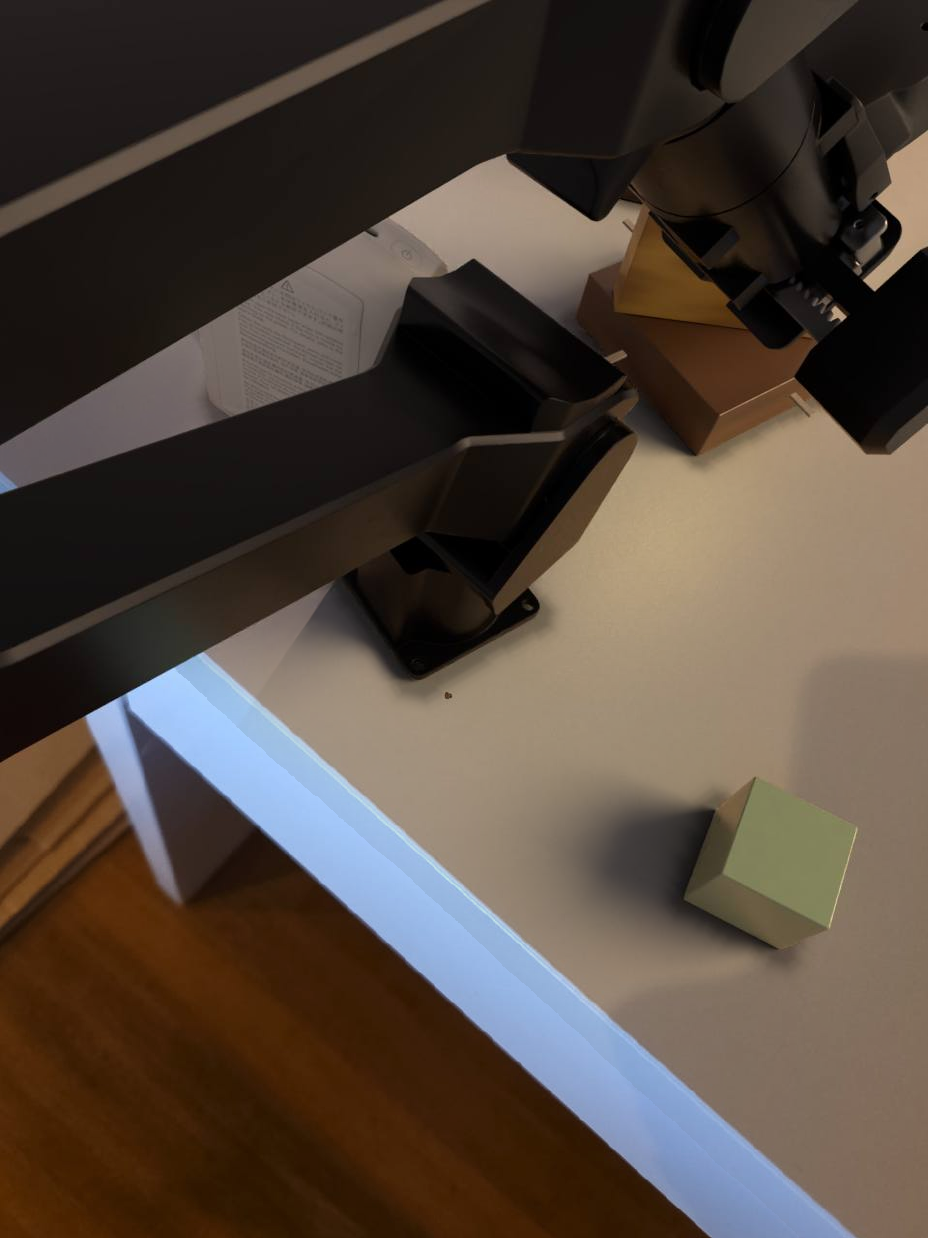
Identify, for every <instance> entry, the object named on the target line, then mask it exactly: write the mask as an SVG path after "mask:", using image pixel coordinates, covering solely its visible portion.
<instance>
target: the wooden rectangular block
mask: <svg viewBox="0 0 928 1238" xmlns="http://www.w3.org/2000/svg"><path fill="white" fill-rule="evenodd" d="M649 212H650V209H649V208H648V207H647V206H646V205H645V204H644V203H641V208H640V210H639V213H638V216H637V219H636V222H635V223H634V225H635V227H634V230H633V233H632V232H631V236H630V239H629V241H628V244H627V248H626V250H625V254H624V256H623V259H622V260H623V262H622V265H621V268H620V270H619V273H618V276H617V279H616V282H615V285H614V288H613V292H614V311H615V312H620V313H628V314H635V315H642V316H650V317H657V318H665V319H672V320H680V321H687V322H695V323H702V324H710V325H717V326H725V327H732V328H739V329H747V327H746V326H745V325H744V324H743V323H742V322H741V321H740V320H739V319H738V318H737V317H736V316H735V315H734V314H733V313H732V312H731V311H730V310H729V309H728V308H727V307H726V304H727V303H728V302H729V301H730V300H729V299H728V297H727V296H726V295H725V294H724V293H723V292H722V291H721V290H720V289H719V288H718V287H717V286H716V285H715V284H714V283H711V282H707V281H702V280H700V279H699V278H698V277H697V276H696V275H695V273H694V272H693V271H692V270H691V269H690V268H689V267H688V266H687V265H686V264H685V263H684V262H683V261H682V260H681V259H680V258H679V257H678V256H677V255H676V254H675V253H674V252H673V251H672V250H671V249H670V248H669V247H668V245H667V244H666V243H665V242H664V241H663V239H662V229H661V228H660V227H659V226H658V225H657V224H656V223H655V222H654V221H653V219H652V218H651V217H650V216H649V214H648V213H649ZM831 311H832V312H833V309H831ZM747 330H748V329H747ZM802 337H807V338H812V337H811V336H810V335H809V334H808V333H805V334H804V335H803V336H802Z"/></svg>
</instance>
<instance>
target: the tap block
mask: <svg viewBox="0 0 928 1238" xmlns="http://www.w3.org/2000/svg"><path fill="white" fill-rule="evenodd" d="M622 224H623V225H624V227H626V228H627V229H628V231H629V232H630V233H631V234H632V233H633V230H634V227H635V223H633V221H632V220H630V218H626V219H624V220H623V221H622ZM622 262H623V259H622V260H620V261H617V262H615V263H612V264H610V265H607V266H605V267H602V268H600V269H598V270H597V269H596V270H595V271H592V272H590V273H589V274H588V276H587V279H586V282H585V285H584V288H583V292H582V294H581V298H580V302H579V304H578V307H577V311H576V314H575V320H576V322H577V323H578V324H579V325H580V326H581V328H583V330H584V331H585V332H586V334H588V335H589V336H590V337H591V338H592V339H593V340H594V342H595V343H596V344H597V345H598V346H599V347H600V348H601V350H602V351H603V352H604V353H605V354H606V355H607V356H605V357H604V358H605V359H606V360H608V361H609V362H610V363H611V364H615V366H616V367H617V368H618V369H619V370H621V371H622V372H623V373H624V374H626V375H627V378H626V379H627V380H629V381H630V382H631V384H632V385H633V387H635V388H636V389H637V390H638V392H640V394H641V395H642V396H643V397H644V398H645V399H646V401H647V402H648V403H649V404H650V405H651V406H652V407H653V408H654V409H655V411H656V412H657V413H658V414H659V415H660V416H661V417H662V418H663V420H664V421H665V422H666V423H667V424H668V425H669V426H670V427H671V429H672V430H673V431H674V432H675V433H676V434H677V436H679V437H680V439H681V440H682V441H683V442H684V443H685V444H686V445H687V447H688V448H689V449H690V450H691V451H692V453H694V454H695V456H697V457H698V456H700V455H702V454H704V453H706V452H708V451H710V450H712V449H714V448H716V447H717V446H719V445H722V444H723V443H727V442H728V441H730V440H732V439H733V438H736V437H737V436H739V435H741V434H744V433H745V432H747V431H749V430H751V429H752V428H755V427H756V426H758V425H761V424H762V423H765V422H766V421H768V420H770V419H772V418H774V417H776V416H778V415H780V414H782V413H784V412H786V411H788V410H790V409H792V408H794V407H798V408H799V409H800V410H801V411H802V412H803V414H804V415H805V416H806V417H807V418H812V417H813V416H815V415H816V411H814V410H813V408H812V407H810V406H809V405H808V403H807V402H806V401H807V400H809V399H812V397H811V396H810V395H809V394H808V393H807V392H806V391H805V390H804V389H803V388H802V386H801V385H800V384H799V383H798V382H797V380H796V379H795V378H794V375H795V374H796V372H797V371H798V369H799V367H800V366H801V364H802V363H803V361H804V359H805V358H806V356H807V355H808V353H809V351H810V350H811V349H812V348H813V347H814V346H815V345H817V344H818V343H817V342H816V341H815V340H814V339H813V338H807V337H801V338H800V339H799V340H798V341H797V342H796V343H795V344H794V345H792V346H791V347H790V348H788V349H786V350H783V351H774V350H771V349H768V348H767V347H765V346H764V345H763V344H762V343H761V342H760V341H759V340H758V339H757V338H756V337H755V336H754V335H753V334H752V333H751V332H750V331H749V330H747V329H739V328H732V327H725V326H717V325H710V324H702V323H695V322H687V321H680V320H672V319H665V318H657V317H650V316H642V315H635V314H628V313H620V312H615V311H614V292H613V288H614V285H615V282H616V279H617V276H618V273H619V270H620V268H621V265H622Z"/></svg>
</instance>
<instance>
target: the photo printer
mask: <svg viewBox="0 0 928 1238" xmlns="http://www.w3.org/2000/svg"><path fill="white" fill-rule="evenodd" d="M447 273H449V269H448V265H447V263H446V262H444V260H443V259H442V258H441V257H440V256H439V255H438V254H437V253H436V252H435V251H433V249H432V248H430V247H429V246H428V245H427V244H426V243H425V242H423V240H421V239H420V238H418V237H417V236H416V235H414V233H412V232H411V231H409V229H406V228H405V227H404V226H402V225H401V224H400V223H398V222H396V221H395V220H394V219H392V218H390V217H388V218H386V219H385V220H383V221H381V222H379V223H378V224H376V225H374V226H373V227H371V228H369V229H368V230H366V231H364V232H362V233H361V234H359V235H357V236H356V237H354V238H352V239H351V240H349V241H347V242H345V243H344V244H342V245H340V246H339V247H337V248H335V249H334V250H332V251H330V252H329V253H327V254H325V255H323V256H322V257H320V258H318V259H317V260H315V261H313V262H312V263H310V264H308V265H306V266H305V267H303V268H301V269H300V270H298V271H296V272H295V273H293V274H291V275H289V276H288V277H286V278H284V279H283V280H281V281H279V282H278V283H276V284H274V285H272V286H271V287H269V288H267V289H266V290H264V291H262V292H261V293H259V294H257V295H255V296H254V297H252V298H250V299H249V300H247V301H245V302H244V303H242V304H240V305H238V306H237V307H235V308H233V309H232V310H230V311H228V312H227V313H225V314H223V315H222V316H220V317H218V318H216V319H215V320H213V321H211V322H210V323H208V324H206V325H205V326H203V327H201V328H199V329H198V330H199V332H198V333H199V340H200V346H201V353H202V361H203V368H204V375H205V384H206V391H207V395H208V397H209V398H208V399H209V401H210V402H211V403H212V404H213V405H214V406H215V407H216V408H217V409H219V410H220V411H222V412H223V413H224V414H226V415H228V417H231V416H234V415H237V414H240V413H243V412H246V411H249V410H252V409H255V408H258V407H261V406H264V405H267V404H270V403H273V402H276V401H279V400H282V399H285V398H288V397H291V396H293V395H296V394H299V393H302V392H305V391H308V390H311V389H314V388H317V387H320V386H323V385H326V384H329V383H332V382H335V381H338V380H341V379H344V378H347V377H350V376H353V375H356V374H359V373H361V372H363V371H365V370H367V369H369V368H370V367H371V366H372V365H373V363H374V361H375V359H376V356H377V354H378V352H379V349H380V347H381V345H382V342H383V340H384V338H385V335H386V333H387V331H388V328H389V326H390V324H391V321H392V319H393V317H394V314H395V312H396V310H397V309H398V308H399V307H401V306H402V305H403V301H404V297H405V293H406V290H407V287H408V284H409V283H410V281H411V279H412V278H413V277H438V276H442V275H445V274H447Z"/></svg>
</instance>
